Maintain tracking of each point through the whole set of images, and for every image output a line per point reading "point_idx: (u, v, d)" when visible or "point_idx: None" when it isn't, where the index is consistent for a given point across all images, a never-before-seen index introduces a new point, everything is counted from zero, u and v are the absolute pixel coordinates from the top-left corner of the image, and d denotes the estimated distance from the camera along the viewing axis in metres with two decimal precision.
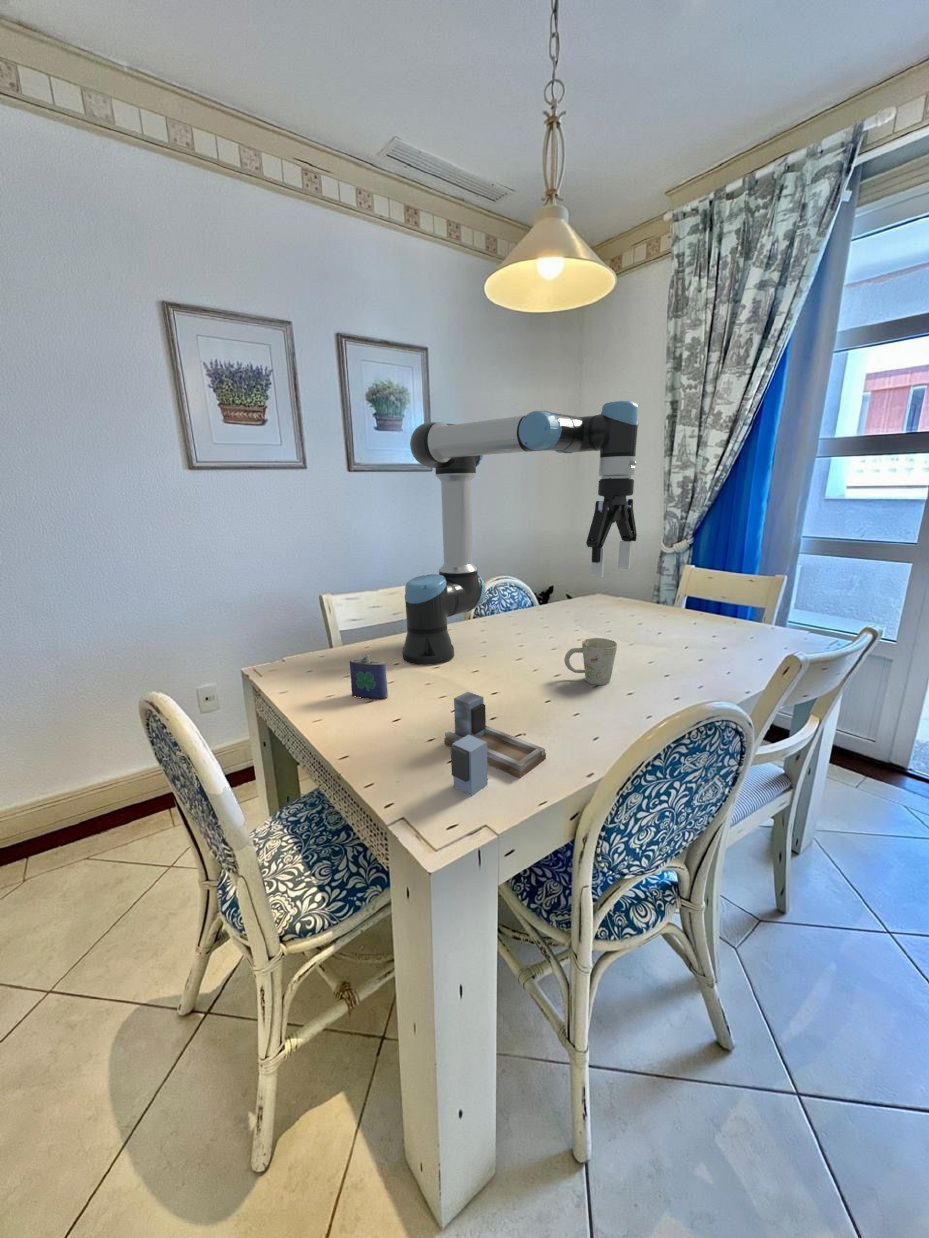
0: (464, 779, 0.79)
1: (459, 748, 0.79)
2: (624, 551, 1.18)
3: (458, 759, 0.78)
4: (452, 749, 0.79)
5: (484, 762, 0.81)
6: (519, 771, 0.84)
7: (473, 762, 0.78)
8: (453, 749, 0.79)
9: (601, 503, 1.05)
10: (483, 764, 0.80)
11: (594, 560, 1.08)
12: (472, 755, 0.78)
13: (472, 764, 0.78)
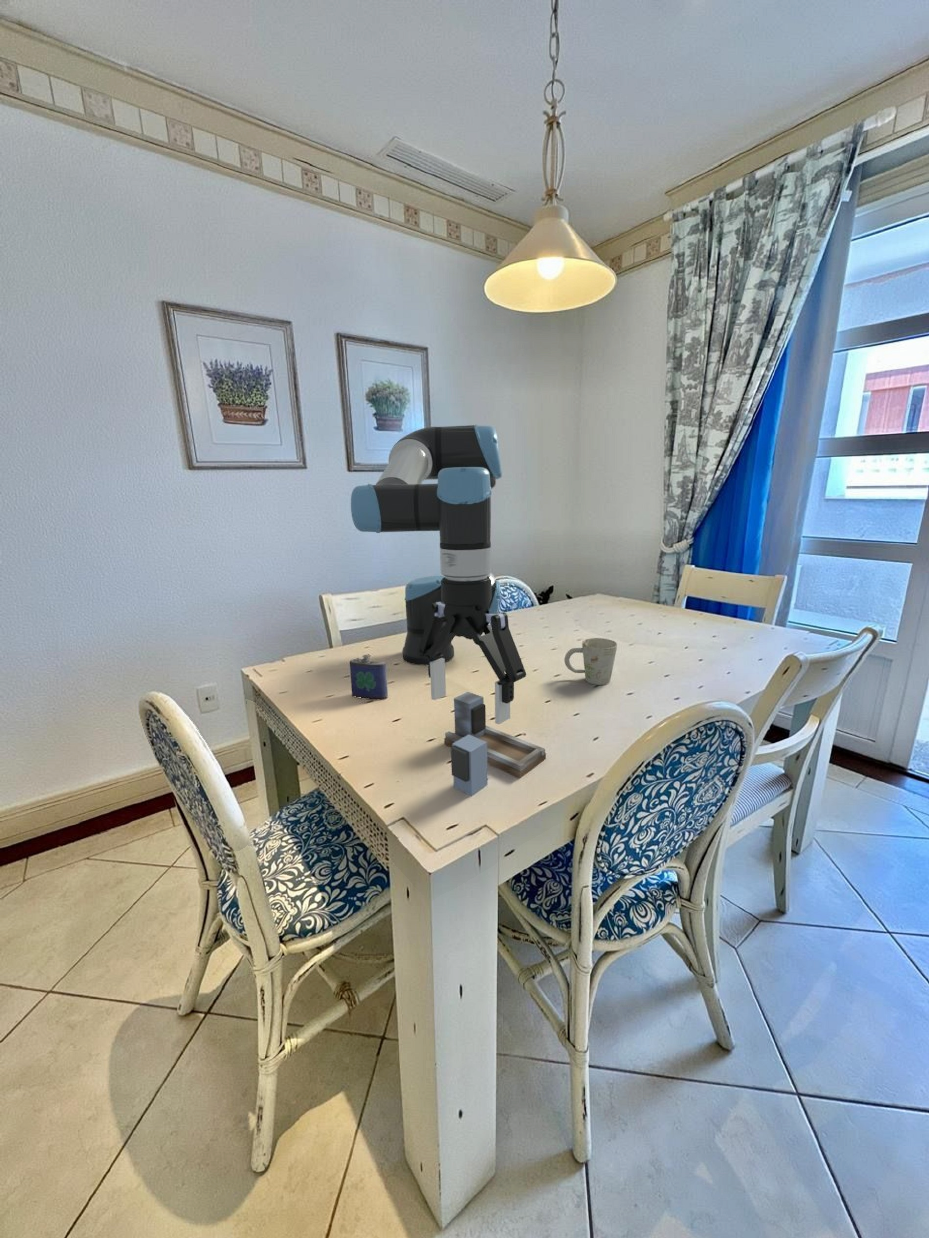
0: (464, 779, 0.79)
1: (459, 748, 0.79)
2: None
3: (458, 759, 0.78)
4: (452, 749, 0.79)
5: (484, 762, 0.81)
6: (519, 771, 0.84)
7: (473, 762, 0.78)
8: (453, 749, 0.79)
9: None
10: (483, 764, 0.80)
11: None
12: (472, 755, 0.78)
13: (472, 764, 0.78)
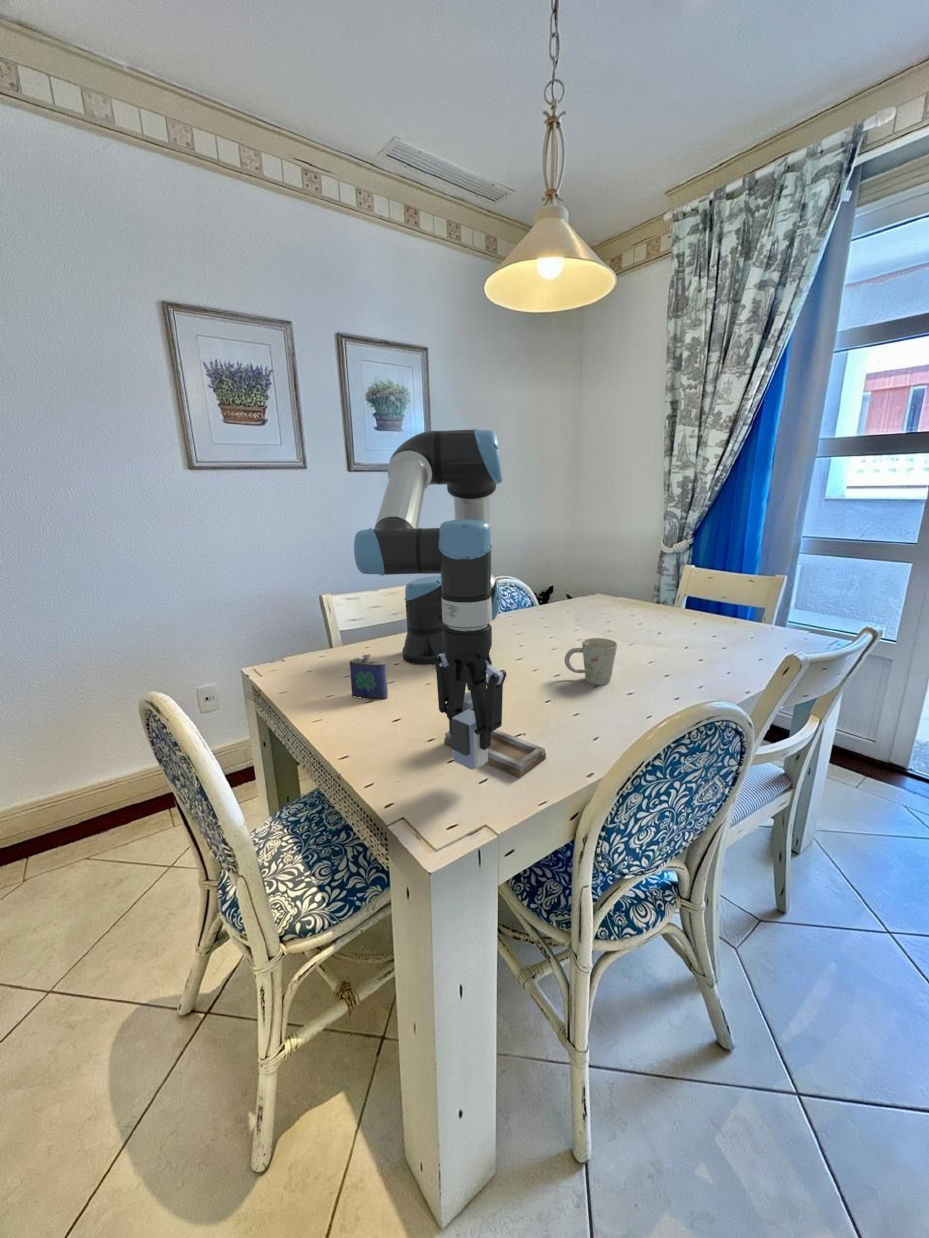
0: (464, 753, 0.78)
1: (459, 722, 0.78)
2: None
3: (458, 733, 0.78)
4: (452, 723, 0.78)
5: None
6: (519, 771, 0.84)
7: None
8: (453, 723, 0.78)
9: None
10: None
11: None
12: (472, 728, 0.77)
13: (472, 738, 0.78)
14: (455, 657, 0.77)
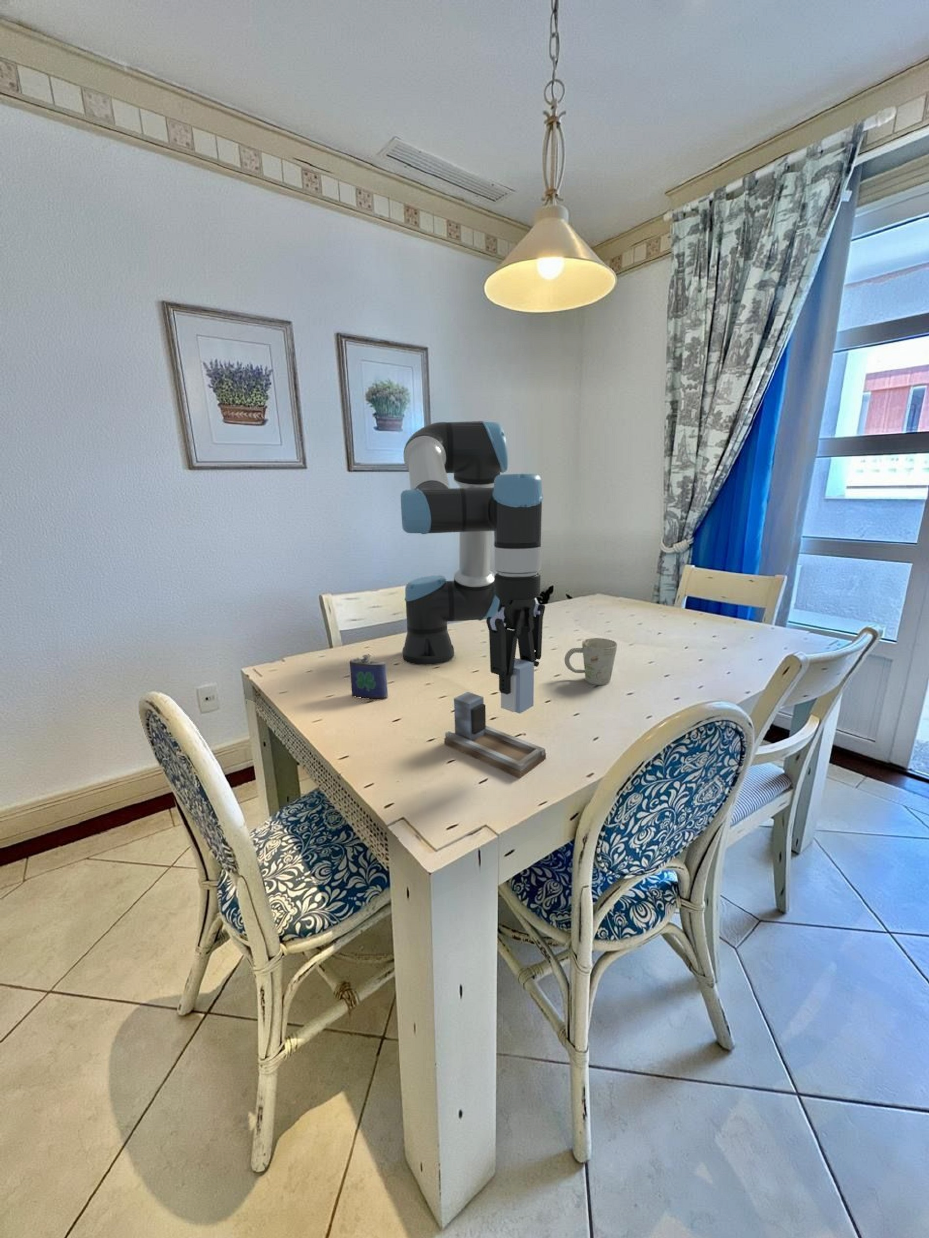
0: None
1: None
2: None
3: None
4: None
5: (516, 687, 0.83)
6: (519, 771, 0.84)
7: None
8: None
9: None
10: None
11: None
12: None
13: None
14: None
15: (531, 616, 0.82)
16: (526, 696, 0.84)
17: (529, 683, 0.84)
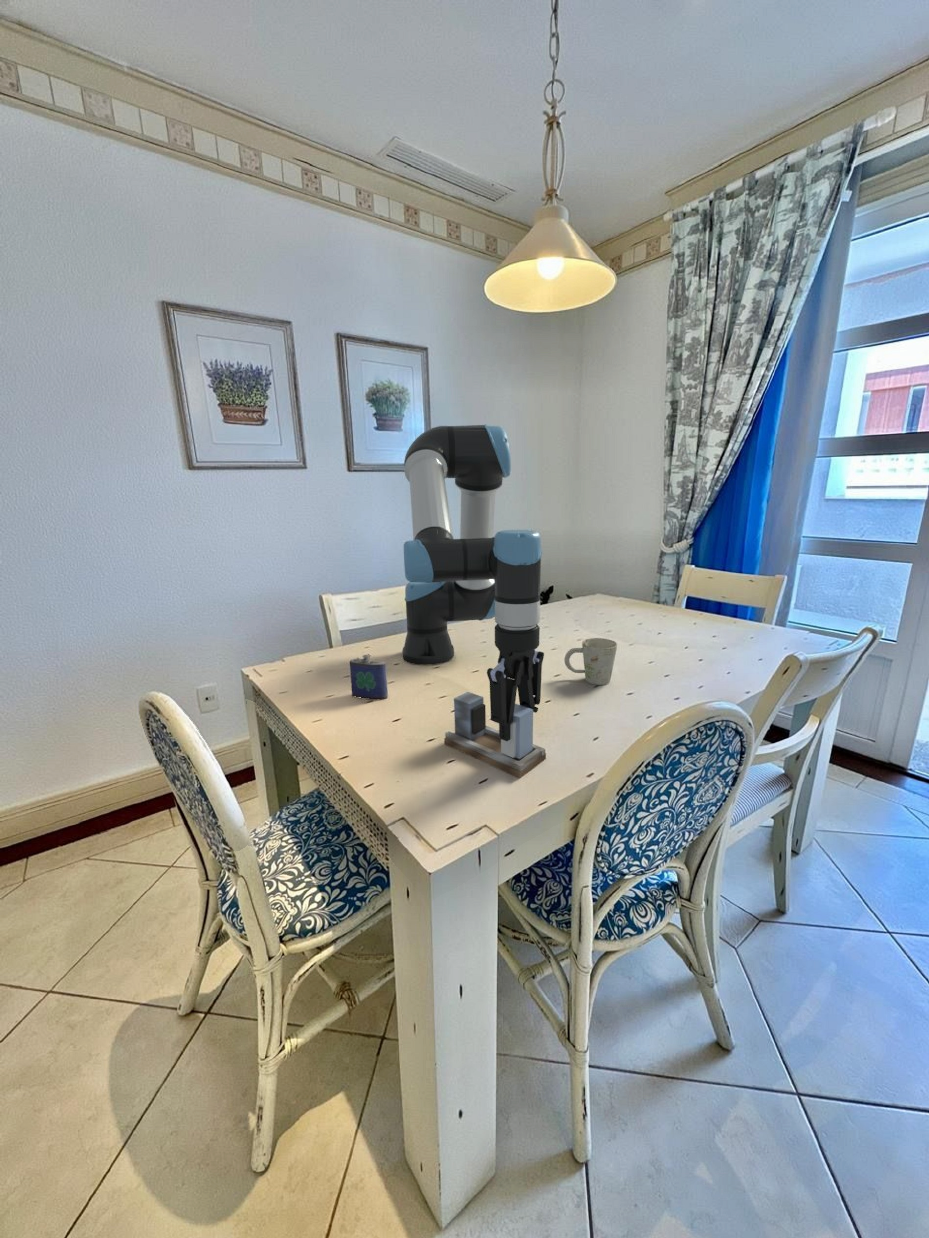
0: None
1: None
2: None
3: None
4: None
5: (516, 734, 0.85)
6: (519, 771, 0.84)
7: None
8: None
9: None
10: None
11: None
12: None
13: None
14: None
15: (530, 665, 0.84)
16: (525, 742, 0.86)
17: (528, 729, 0.86)
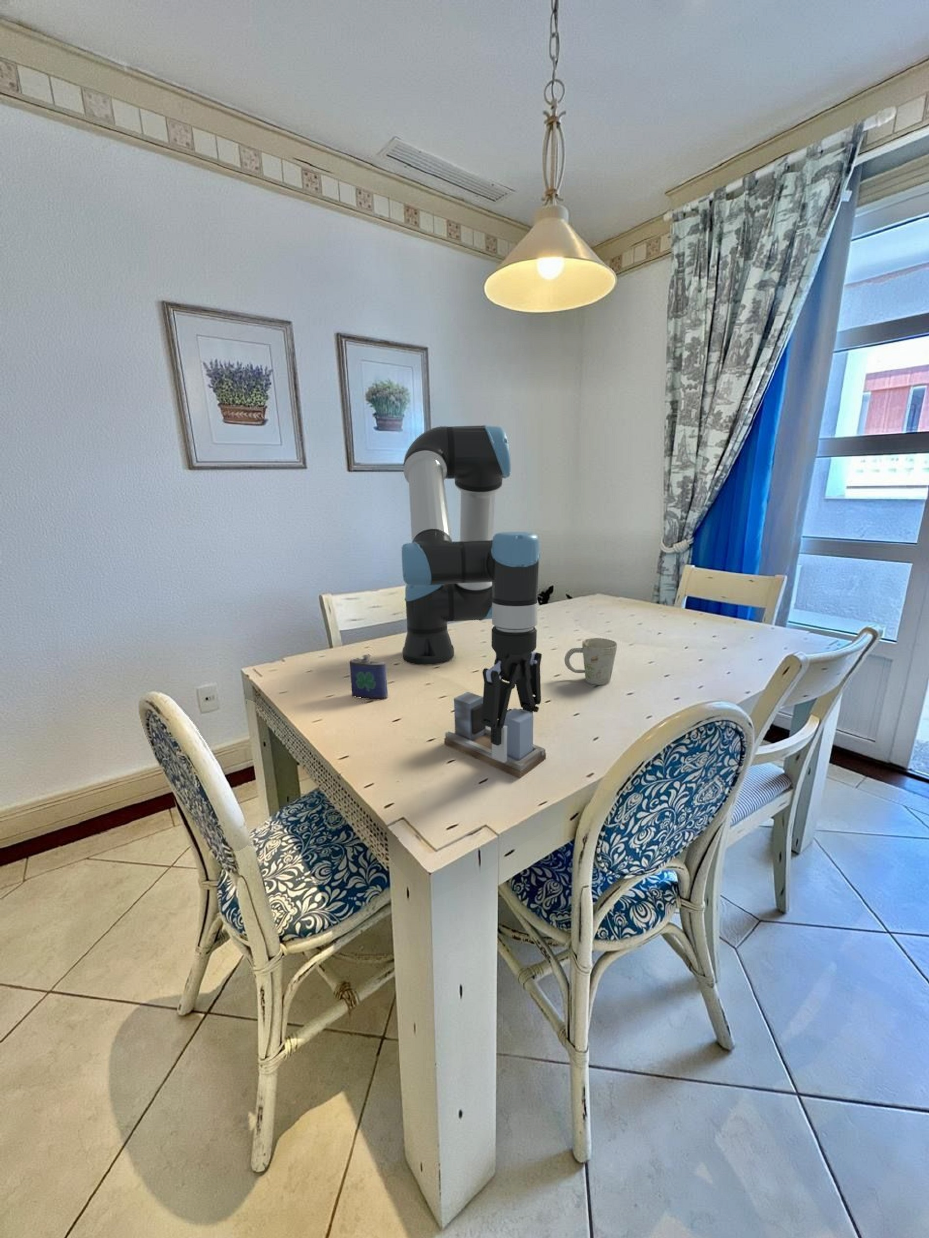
0: None
1: (508, 712, 0.88)
2: None
3: None
4: (508, 710, 0.89)
5: (516, 739, 0.85)
6: (519, 771, 0.84)
7: None
8: (508, 710, 0.89)
9: None
10: (515, 740, 0.85)
11: None
12: None
13: None
14: None
15: (527, 668, 0.84)
16: (525, 747, 0.87)
17: (528, 734, 0.87)
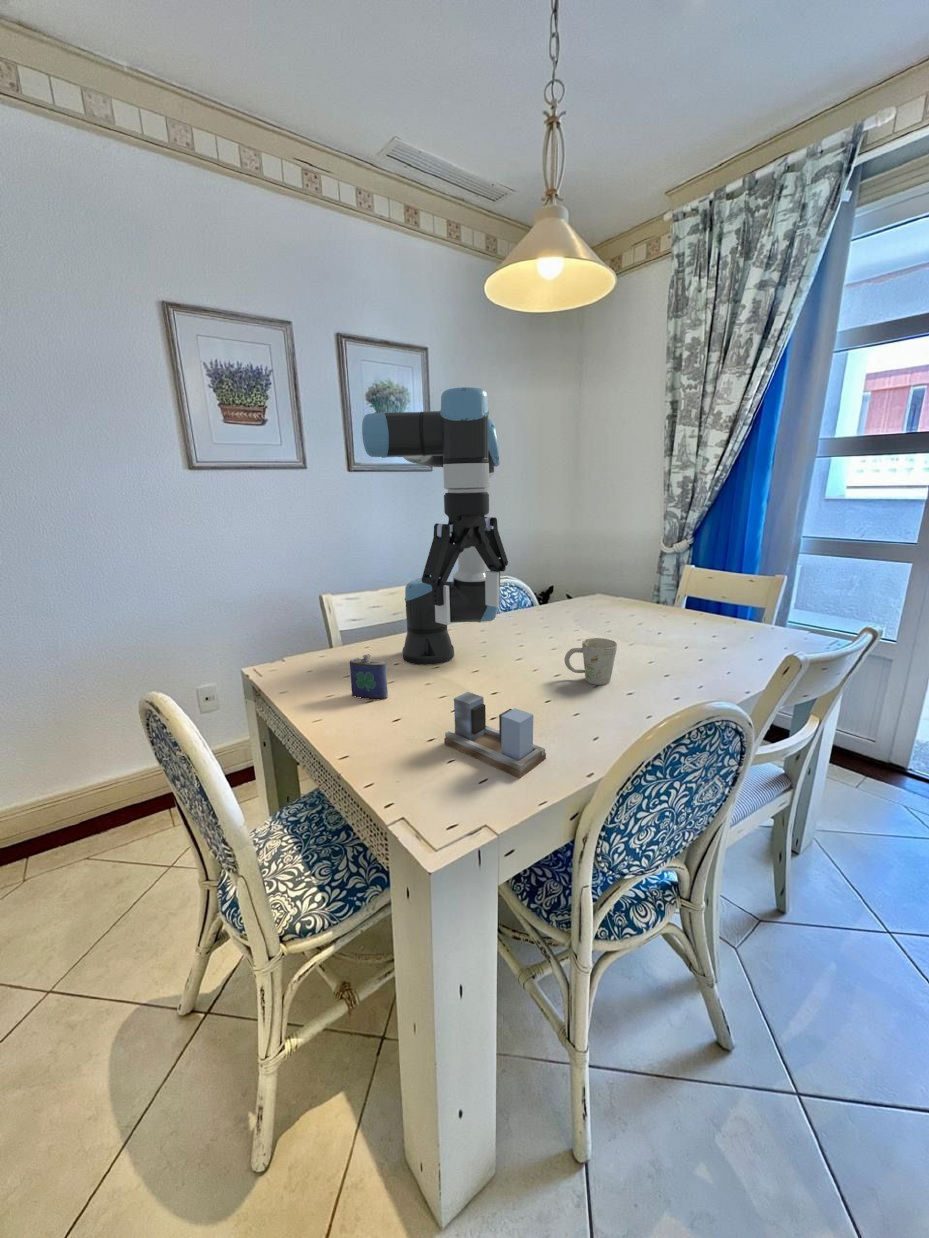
0: (500, 737, 0.89)
1: (508, 712, 0.88)
2: None
3: None
4: (508, 710, 0.89)
5: (516, 739, 0.85)
6: (519, 771, 0.84)
7: (503, 728, 0.87)
8: (508, 710, 0.89)
9: None
10: (515, 740, 0.85)
11: None
12: (502, 720, 0.86)
13: (502, 728, 0.87)
14: None
15: (483, 533, 0.84)
16: (525, 747, 0.87)
17: (528, 734, 0.87)
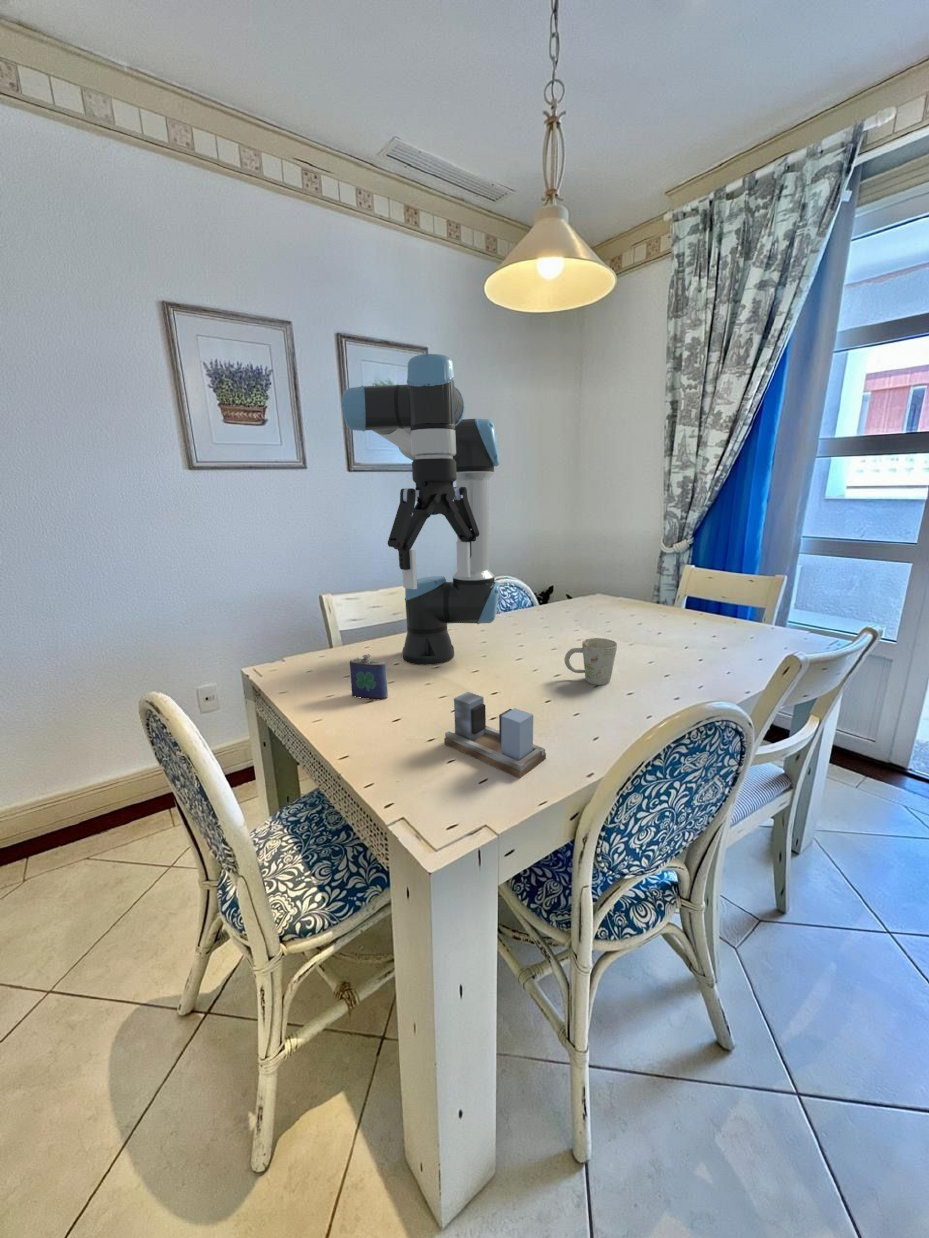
0: (500, 737, 0.89)
1: (508, 712, 0.88)
2: None
3: None
4: (508, 710, 0.89)
5: (516, 739, 0.85)
6: (519, 771, 0.84)
7: (503, 728, 0.87)
8: (508, 710, 0.89)
9: None
10: (515, 740, 0.85)
11: None
12: (502, 720, 0.86)
13: (502, 728, 0.87)
14: None
15: (451, 501, 0.85)
16: (525, 747, 0.87)
17: (528, 734, 0.87)
